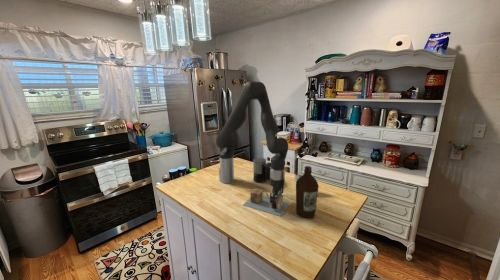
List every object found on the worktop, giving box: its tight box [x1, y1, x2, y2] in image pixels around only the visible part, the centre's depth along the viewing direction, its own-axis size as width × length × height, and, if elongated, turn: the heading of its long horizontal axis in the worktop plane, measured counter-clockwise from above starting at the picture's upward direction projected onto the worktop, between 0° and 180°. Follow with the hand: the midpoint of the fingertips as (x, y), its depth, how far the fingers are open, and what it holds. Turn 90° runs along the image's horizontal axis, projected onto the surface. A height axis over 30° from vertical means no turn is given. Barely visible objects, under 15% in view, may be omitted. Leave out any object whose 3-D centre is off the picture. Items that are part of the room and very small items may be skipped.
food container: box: [294, 173, 316, 183], centre depth 126 cm, size 12×6×10 cm, turn 62°
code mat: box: [242, 195, 290, 217], centre depth 114 cm, size 22×14×1 cm, turn 62°
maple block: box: [271, 194, 284, 210], centre depth 110 cm, size 5×5×6 cm
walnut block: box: [249, 188, 264, 204], centre depth 116 cm, size 5×5×6 cm
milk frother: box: [252, 157, 271, 184], centre depth 143 cm, size 14×16×15 cm
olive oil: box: [295, 165, 319, 220], centre depth 102 cm, size 11×11×25 cm
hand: (276, 205), depth 111 cm, fingers open, 6 cm apart
